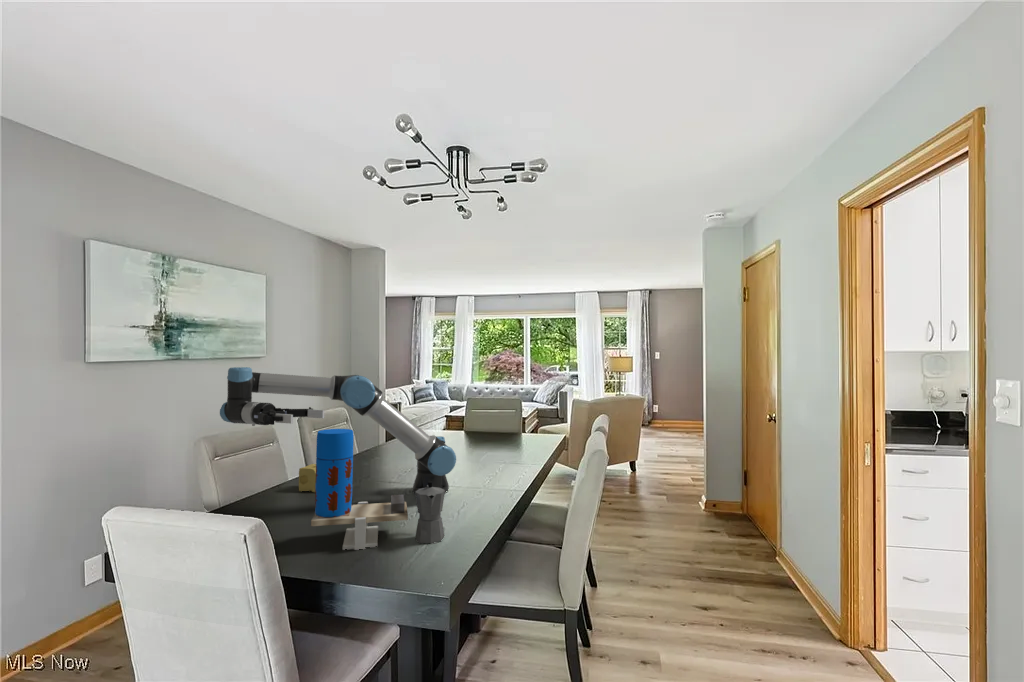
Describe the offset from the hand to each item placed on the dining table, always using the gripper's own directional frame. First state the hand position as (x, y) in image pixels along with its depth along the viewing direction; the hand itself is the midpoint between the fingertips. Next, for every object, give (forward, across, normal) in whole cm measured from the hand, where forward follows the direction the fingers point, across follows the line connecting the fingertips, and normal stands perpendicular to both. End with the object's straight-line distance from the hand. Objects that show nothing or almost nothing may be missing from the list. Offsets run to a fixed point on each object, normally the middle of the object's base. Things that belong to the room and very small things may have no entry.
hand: (308, 416), depth 161 cm
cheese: (-37, -43, -38) cm, 69 cm away
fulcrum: (+19, -4, -38) cm, 43 cm away
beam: (+19, -4, -30) cm, 36 cm away
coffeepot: (+38, -13, -38) cm, 55 cm away
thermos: (+12, +1, -29) cm, 31 cm away
